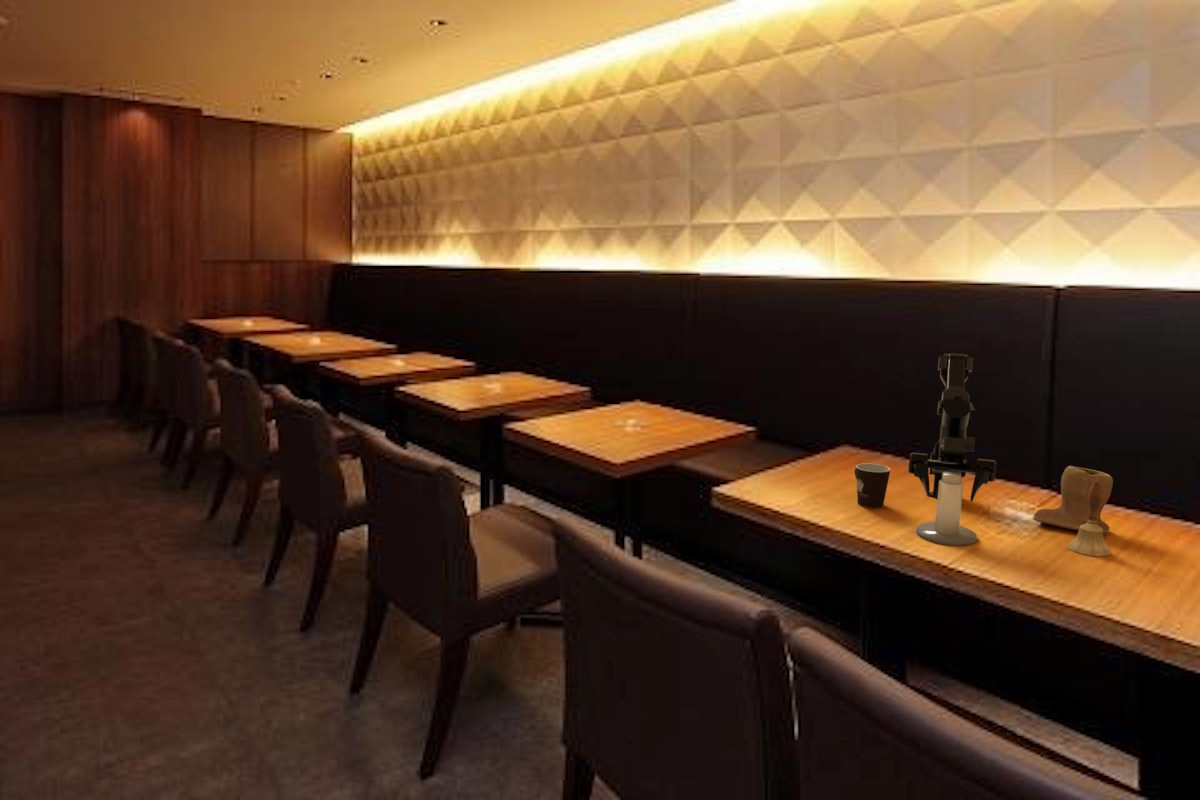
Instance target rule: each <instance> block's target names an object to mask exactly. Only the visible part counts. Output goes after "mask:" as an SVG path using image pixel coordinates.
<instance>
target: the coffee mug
mask: <svg viewBox="0 0 1200 800" xmlns="http://www.w3.org/2000/svg"><path fill="white" fill-rule="evenodd" d="M890 474H891V468H890V467H889V466H886V465H884V464H877V463H868V462H867V463H866V462H865V463H859V464H857V465H856V464H855V469H854V475H855V479H856V496H857V497H856V499H857V505H858V506H860V507H864V508H870V509H881V508H883V507H884V503H885V498H886V494H887V489H888V483H889V480H890V479H889V478H890Z"/></svg>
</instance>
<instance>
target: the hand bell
mask: <svg viewBox="0 0 1200 800" xmlns="http://www.w3.org/2000/svg"><path fill="white" fill-rule="evenodd" d="M1088 500H1089V506H1090V510H1089V515H1088V516H1089V517H1088V522H1087V523H1086V524H1082V525H1081V526H1080V528H1079V531H1078V532H1077V534H1076V537H1075V538H1074V539H1073V540H1072V541H1070V542H1069V543H1068V544H1067V549H1068V550H1070V551H1072V552H1074V553H1077V554H1079V555H1084V556H1090V557H1098V558H1100V557H1107V556H1108V557H1109V556H1110V555H1111V554H1112V552H1111V550H1110V549H1109V547H1107V545H1106V542H1105V539H1104V533H1103V529H1102V528H1101V527H1099V526H1098V525H1097V524H1096V522H1097V521H1096V520H1097V511H1098V507H1099V505H1100V503H1101V500H1102V488H1101V482H1100V481H1094V482H1093V485H1092V486H1091V488H1090V490H1089V496H1088Z"/></svg>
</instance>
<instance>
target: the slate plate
mask: <svg viewBox="0 0 1200 800" xmlns="http://www.w3.org/2000/svg"><path fill="white" fill-rule="evenodd" d="M915 533H916V535H917V536H918V537H920V538H922V539H923V540H925V541H928V542H932V543H935V544H937V545H939V544H940V545H946V546H952V547H953V546H955V547H957V546H958V547H959V546H960V547H962V546H965V547H966V546H970V545H973V544H975V543H976V542H977V538H978V535H977V533H976V532H975V531H974V530H971V529H969V527H965V526H963V525H959V534H958V535H943V534H939V533H937V532H935V521H933V522H931V521H930V522H924V523H920V524H918V525H917V526H916V530H915Z"/></svg>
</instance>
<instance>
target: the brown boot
mask: <svg viewBox="0 0 1200 800" xmlns="http://www.w3.org/2000/svg"><path fill="white" fill-rule="evenodd" d="M1060 479H1061V480H1060V493H1061V503H1060V506H1058V507H1057V508H1039V509H1038V510H1037V511H1036V512H1035V513H1034V515H1033V521H1035V522H1039V523H1042V524H1046V525H1050V526H1053V527H1058V528H1063V529H1069V530H1073V531H1079V528H1080V526H1081V525H1082V524H1086V523H1087V522H1088V517H1089V516H1088V515H1089V510H1090V506H1089V500H1088V496H1089V490H1090V488H1091V486H1092V485H1093V482H1094V481H1100V482H1101V488H1102V500H1101V503H1100V505H1099V507H1098V511H1097V520H1096V521H1097V522H1096V524H1097V525H1098V526H1099V527H1101V528H1102V529H1103V534H1107V533H1108V532H1110V531H1109V530H1110V526H1109V524H1108V523H1106V522H1105V521H1103V520H1102V518H1101V514H1102V511H1103V508H1104V507H1105V506H1106V503H1107V502H1108V500H1109V499H1110V496H1111V493H1112V491H1113V490H1112V488H1113V486H1114V479H1113V477H1112V475H1110V474H1108V473H1105V472H1103V471H1100V470H1099V471H1098V470H1095V469H1090V468H1085V467H1079V466H1073V465H1069V466H1066V467H1065V469H1064V471H1063V473H1062V475H1061V478H1060Z"/></svg>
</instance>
